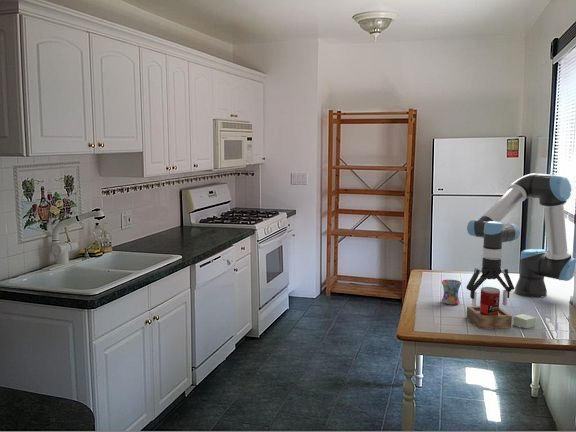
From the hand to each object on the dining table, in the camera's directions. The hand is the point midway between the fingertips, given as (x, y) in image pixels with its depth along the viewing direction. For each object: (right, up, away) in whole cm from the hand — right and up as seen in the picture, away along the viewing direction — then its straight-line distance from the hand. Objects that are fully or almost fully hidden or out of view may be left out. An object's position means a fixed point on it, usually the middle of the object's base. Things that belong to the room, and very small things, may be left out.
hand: (489, 305), depth 238 cm
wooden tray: (0, -8, +1) cm, 8 cm away
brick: (+14, -8, -2) cm, 17 cm away
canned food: (0, -4, +1) cm, 4 cm away
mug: (-7, -4, +31) cm, 32 cm away
